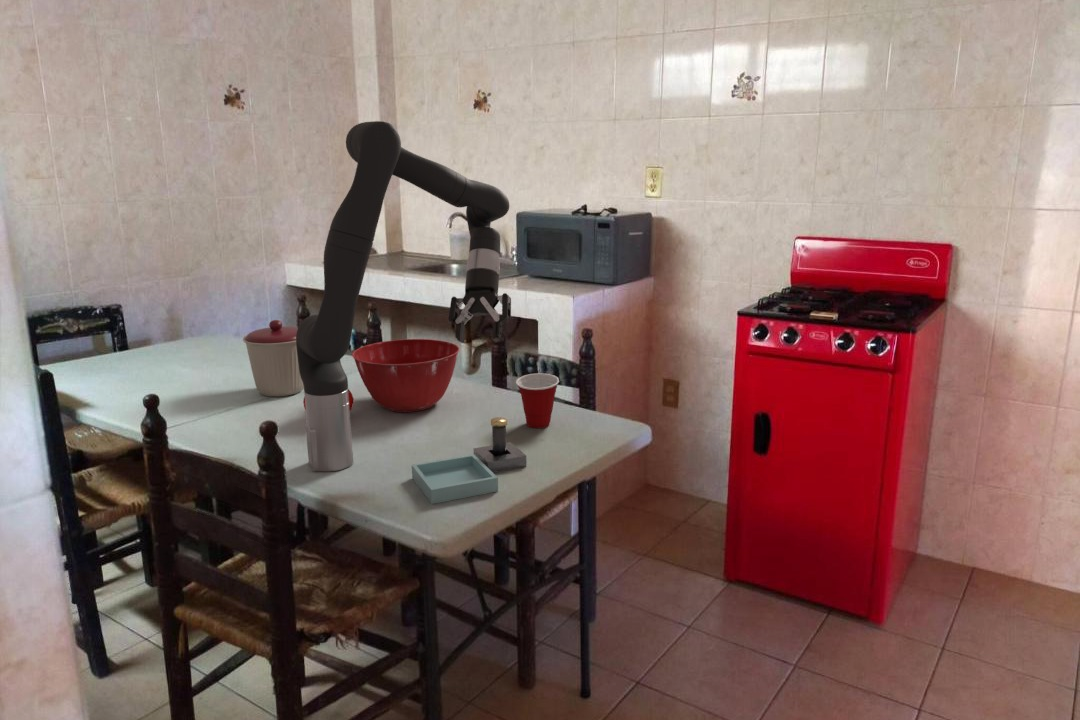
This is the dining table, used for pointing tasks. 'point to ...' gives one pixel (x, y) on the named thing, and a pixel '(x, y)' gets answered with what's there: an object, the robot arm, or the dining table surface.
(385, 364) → the mixing bowl
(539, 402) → the plastic cup
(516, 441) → the dining table surface
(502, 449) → the pin
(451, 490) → the tray
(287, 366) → the canister
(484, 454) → the grey square socket base
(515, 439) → the dining table surface
